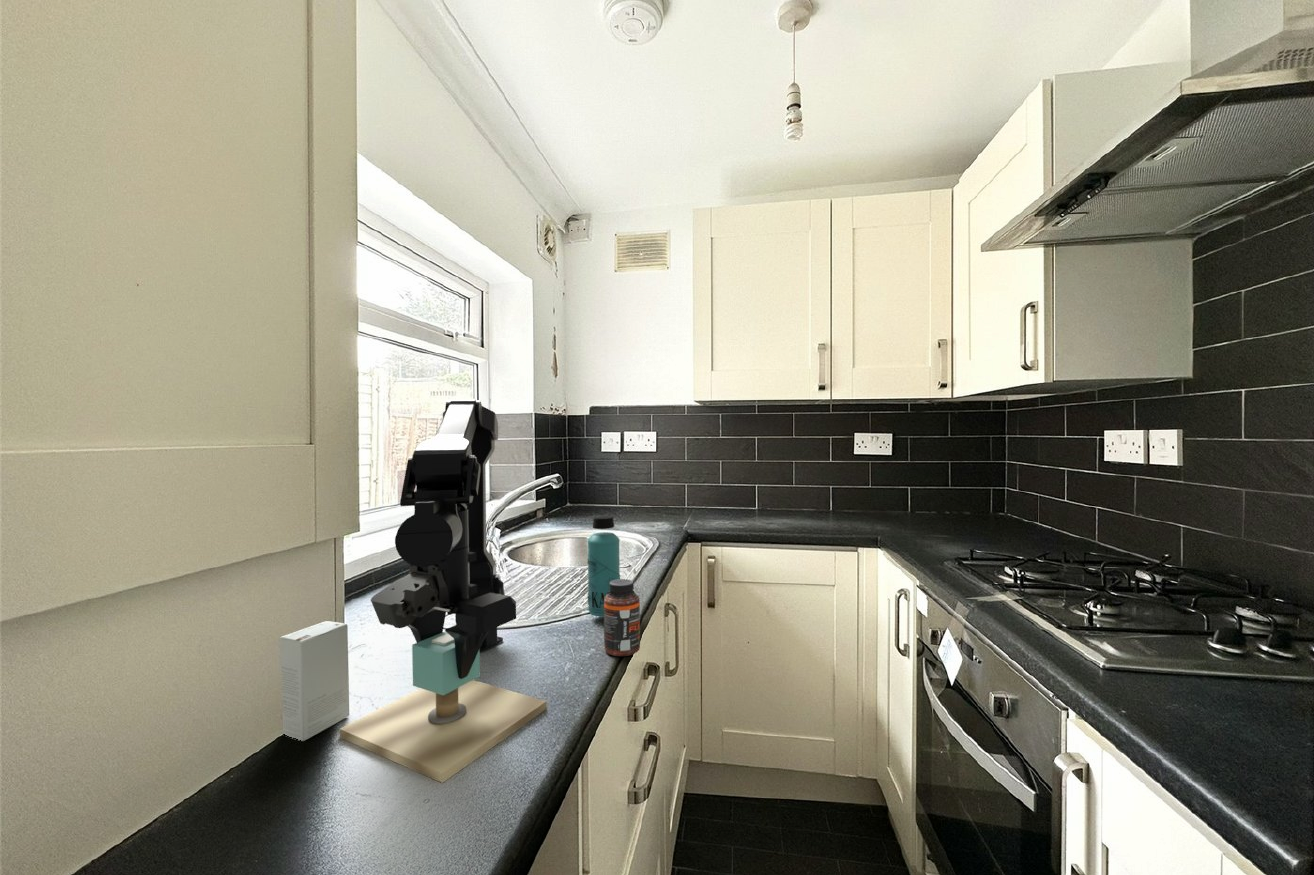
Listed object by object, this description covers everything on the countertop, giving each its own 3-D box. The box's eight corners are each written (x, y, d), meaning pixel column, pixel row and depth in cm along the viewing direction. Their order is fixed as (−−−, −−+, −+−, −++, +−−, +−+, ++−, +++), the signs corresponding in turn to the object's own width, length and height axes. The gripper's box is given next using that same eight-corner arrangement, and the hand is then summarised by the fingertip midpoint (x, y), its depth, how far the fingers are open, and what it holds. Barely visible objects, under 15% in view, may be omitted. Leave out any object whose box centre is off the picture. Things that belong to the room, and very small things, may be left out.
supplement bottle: (635, 659, 81) (634, 587, 81) (599, 657, 82) (598, 586, 82) (644, 644, 87) (642, 577, 87) (610, 642, 88) (609, 576, 88)
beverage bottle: (603, 611, 104) (601, 512, 104) (628, 617, 100) (626, 515, 100) (580, 620, 99) (578, 517, 99) (606, 627, 95) (604, 519, 95)
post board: (339, 737, 61) (339, 699, 61) (451, 680, 75) (450, 649, 75) (442, 783, 52) (441, 738, 52) (546, 709, 66) (545, 674, 66)
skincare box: (327, 711, 67) (326, 618, 67) (351, 717, 65) (350, 622, 65) (277, 737, 61) (276, 635, 61) (303, 744, 60) (301, 640, 60)
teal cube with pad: (412, 685, 63) (412, 642, 63) (450, 667, 67) (449, 627, 67) (443, 695, 60) (442, 650, 60) (480, 676, 65) (479, 634, 65)
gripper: (334, 554, 61) (337, 685, 61) (440, 570, 52) (443, 723, 52) (417, 537, 71) (419, 650, 71) (518, 549, 62) (520, 677, 62)
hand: (446, 672), depth 64 cm, fingers closed on teal cube with pad, 5 cm apart
